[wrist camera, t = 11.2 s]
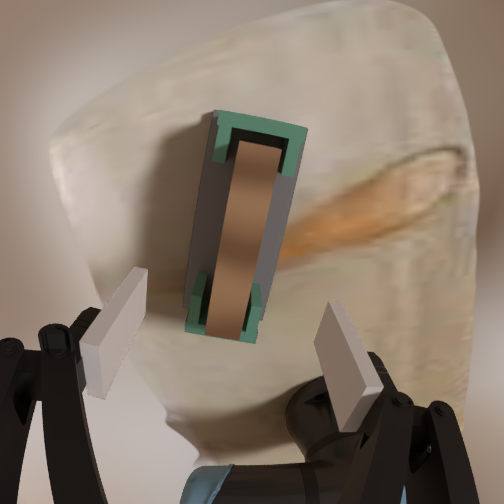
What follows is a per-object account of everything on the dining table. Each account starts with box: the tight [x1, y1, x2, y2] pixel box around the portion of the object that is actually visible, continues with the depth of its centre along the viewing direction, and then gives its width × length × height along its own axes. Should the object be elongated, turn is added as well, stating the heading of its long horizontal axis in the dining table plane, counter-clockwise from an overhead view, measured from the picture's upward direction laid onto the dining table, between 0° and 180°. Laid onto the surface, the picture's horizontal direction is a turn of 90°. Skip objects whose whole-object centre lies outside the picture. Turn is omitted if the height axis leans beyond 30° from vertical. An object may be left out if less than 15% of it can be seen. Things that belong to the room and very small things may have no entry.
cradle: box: [183, 110, 308, 344], centre depth 30 cm, size 21×9×6 cm, turn 169°
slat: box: [205, 140, 282, 341], centre depth 28 cm, size 16×3×8 cm, turn 169°
